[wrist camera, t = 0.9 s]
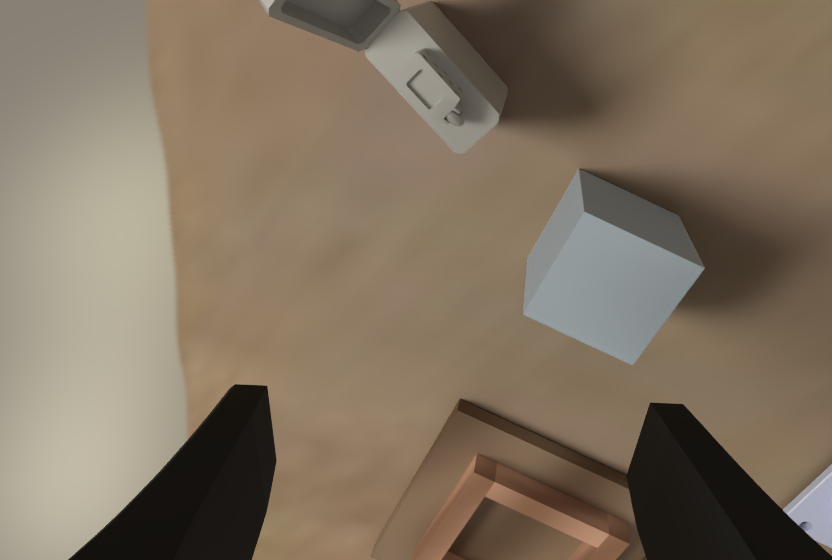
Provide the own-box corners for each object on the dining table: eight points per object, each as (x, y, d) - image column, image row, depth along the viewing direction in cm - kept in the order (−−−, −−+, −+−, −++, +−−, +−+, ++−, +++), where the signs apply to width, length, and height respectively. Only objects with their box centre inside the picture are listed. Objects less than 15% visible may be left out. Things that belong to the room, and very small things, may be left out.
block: (678, 214, 23) (704, 268, 19) (619, 300, 25) (632, 365, 21) (578, 168, 23) (584, 211, 19) (527, 257, 25) (522, 314, 21)
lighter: (511, 91, 22) (492, 153, 15) (474, 124, 23) (440, 199, 16) (366, -75, 21) (270, -90, 14) (332, -33, 21) (225, -27, 14)
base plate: (681, 501, 29) (689, 536, 27) (561, 629, 34) (562, 666, 32) (459, 398, 28) (453, 428, 27) (374, 544, 34) (364, 576, 32)
